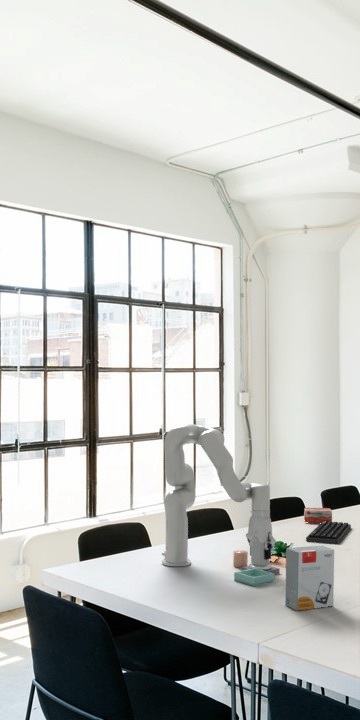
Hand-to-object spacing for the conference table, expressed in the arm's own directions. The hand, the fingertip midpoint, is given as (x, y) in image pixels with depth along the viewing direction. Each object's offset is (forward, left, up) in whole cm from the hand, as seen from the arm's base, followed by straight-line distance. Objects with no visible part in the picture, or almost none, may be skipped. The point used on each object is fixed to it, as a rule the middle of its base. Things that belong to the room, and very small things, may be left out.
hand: (260, 556), depth 297 cm
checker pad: (0, 0, -4) cm, 4 cm away
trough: (+8, -11, -6) cm, 15 cm away
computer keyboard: (-35, +86, -7) cm, 93 cm away
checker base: (0, 0, -6) cm, 6 cm away
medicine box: (-61, +108, -7) cm, 124 cm away
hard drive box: (+43, -19, -7) cm, 48 cm away
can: (0, 0, -3) cm, 3 cm away
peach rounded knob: (-13, +1, -6) cm, 14 cm away
